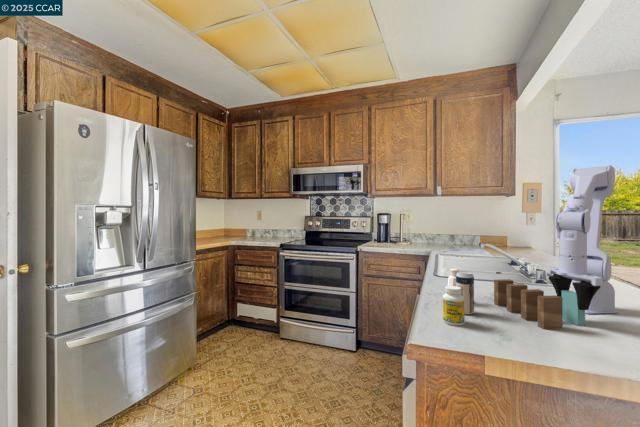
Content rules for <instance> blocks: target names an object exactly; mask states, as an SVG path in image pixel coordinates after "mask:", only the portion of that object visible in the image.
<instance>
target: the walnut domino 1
mask: <svg viewBox="0 0 640 427" xmlns="http://www.w3.org/2000/svg"><path fill="white" fill-rule="evenodd" d="M507 284H514V280H512V279H510V278H509V279H493V289H494V290H493V303H494V305H495V306H497V307H507Z"/></svg>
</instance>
